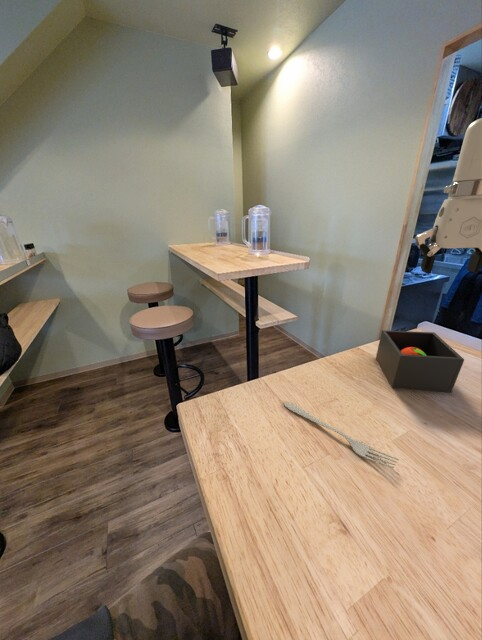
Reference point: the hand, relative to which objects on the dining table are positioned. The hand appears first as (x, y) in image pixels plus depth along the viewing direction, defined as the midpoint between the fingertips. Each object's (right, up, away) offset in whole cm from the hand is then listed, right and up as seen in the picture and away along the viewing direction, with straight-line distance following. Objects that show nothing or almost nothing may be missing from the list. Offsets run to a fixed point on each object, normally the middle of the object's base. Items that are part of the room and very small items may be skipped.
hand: (448, 271), depth 59 cm
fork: (-30, -35, -6) cm, 47 cm away
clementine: (-2, -26, +10) cm, 28 cm away
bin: (-2, -26, +10) cm, 28 cm away
